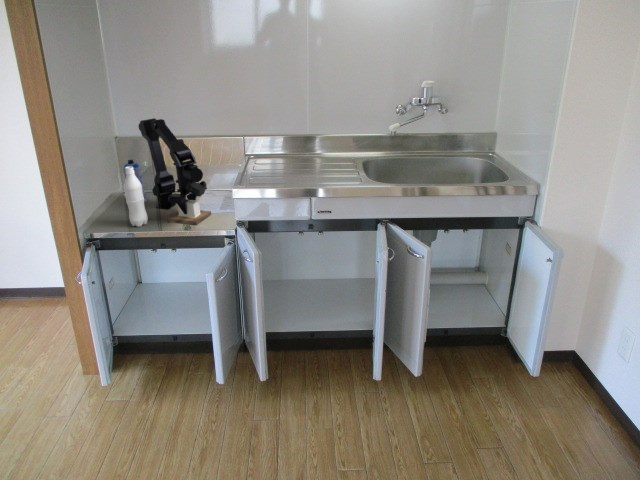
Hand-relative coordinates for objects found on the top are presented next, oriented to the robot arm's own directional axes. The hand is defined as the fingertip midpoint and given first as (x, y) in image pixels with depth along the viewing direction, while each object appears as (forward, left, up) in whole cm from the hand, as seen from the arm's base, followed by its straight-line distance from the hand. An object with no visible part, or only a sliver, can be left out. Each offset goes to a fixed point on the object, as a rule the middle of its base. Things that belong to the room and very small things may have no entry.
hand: (189, 211), depth 216 cm
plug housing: (0, 0, -1) cm, 1 cm away
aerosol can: (-35, +11, -3) cm, 37 cm away
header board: (0, 0, -3) cm, 3 cm away
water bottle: (-17, -12, -3) cm, 21 cm away
